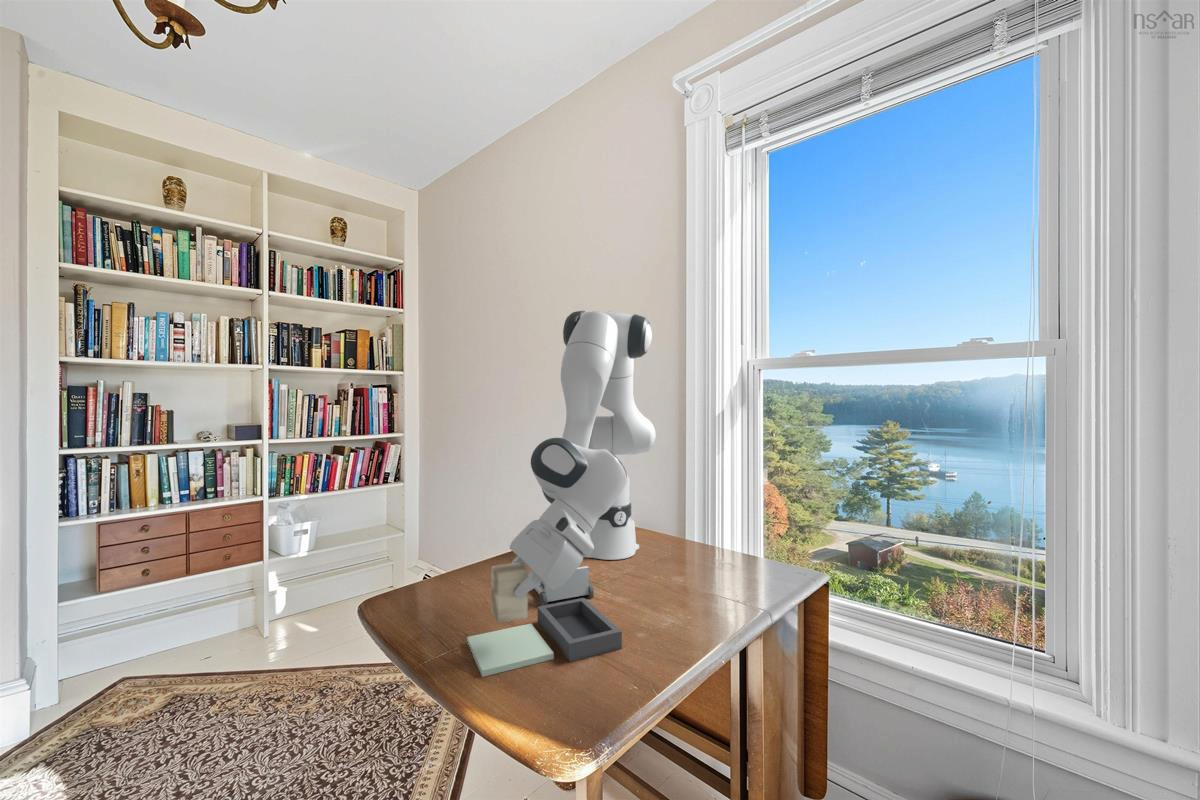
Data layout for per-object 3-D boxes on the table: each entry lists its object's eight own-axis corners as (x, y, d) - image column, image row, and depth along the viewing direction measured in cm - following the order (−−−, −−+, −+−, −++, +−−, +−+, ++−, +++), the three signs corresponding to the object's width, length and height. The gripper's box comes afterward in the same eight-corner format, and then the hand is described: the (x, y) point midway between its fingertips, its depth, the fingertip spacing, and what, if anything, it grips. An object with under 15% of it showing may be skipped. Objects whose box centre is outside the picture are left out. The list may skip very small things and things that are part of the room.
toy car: (520, 539, 117) (565, 534, 122) (520, 580, 117) (565, 573, 122) (543, 562, 101) (594, 555, 106) (543, 609, 101) (594, 600, 106)
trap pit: (537, 622, 94) (537, 606, 94) (583, 612, 99) (583, 597, 99) (569, 661, 80) (569, 643, 80) (621, 648, 85) (621, 631, 85)
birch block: (491, 611, 85) (491, 566, 85) (518, 606, 87) (519, 562, 87) (498, 623, 80) (498, 575, 80) (527, 617, 82) (527, 570, 83)
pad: (467, 642, 86) (467, 637, 86) (531, 628, 92) (531, 623, 92) (482, 677, 76) (482, 670, 76) (553, 658, 81) (553, 653, 81)
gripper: (533, 504, 97) (484, 560, 92) (574, 528, 78) (515, 599, 74) (554, 524, 98) (507, 580, 94) (598, 552, 80) (542, 622, 76)
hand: (511, 589), depth 84 cm, fingers closed on birch block, 5 cm apart
